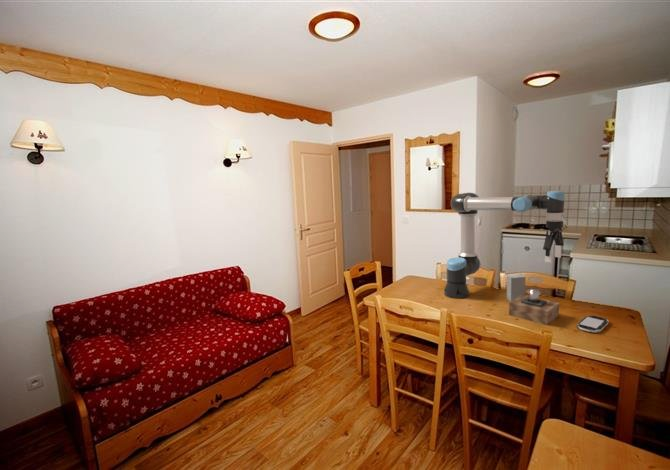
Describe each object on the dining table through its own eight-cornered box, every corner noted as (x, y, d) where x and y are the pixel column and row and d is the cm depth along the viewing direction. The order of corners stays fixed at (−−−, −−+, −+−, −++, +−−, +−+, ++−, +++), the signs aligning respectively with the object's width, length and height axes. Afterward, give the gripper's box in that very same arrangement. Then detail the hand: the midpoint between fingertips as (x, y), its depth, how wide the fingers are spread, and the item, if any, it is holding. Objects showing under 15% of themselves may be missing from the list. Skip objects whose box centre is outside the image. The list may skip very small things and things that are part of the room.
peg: (528, 304, 168) (528, 290, 167) (531, 302, 171) (531, 288, 169) (536, 306, 165) (537, 291, 164) (539, 304, 167) (540, 289, 166)
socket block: (508, 314, 171) (509, 300, 170) (521, 306, 180) (522, 293, 179) (547, 325, 157) (547, 309, 156) (558, 315, 166) (559, 301, 165)
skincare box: (520, 298, 193) (520, 273, 191) (525, 302, 186) (526, 276, 184) (505, 298, 194) (506, 273, 191) (510, 302, 187) (511, 276, 184)
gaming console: (597, 336, 144) (598, 331, 144) (574, 329, 151) (574, 324, 151) (610, 323, 155) (610, 318, 155) (587, 317, 163) (588, 313, 162)
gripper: (553, 223, 158) (551, 265, 161) (571, 218, 172) (569, 256, 175) (536, 222, 164) (535, 262, 167) (555, 217, 178) (554, 254, 181)
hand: (552, 259), depth 171 cm, fingers open, 13 cm apart
